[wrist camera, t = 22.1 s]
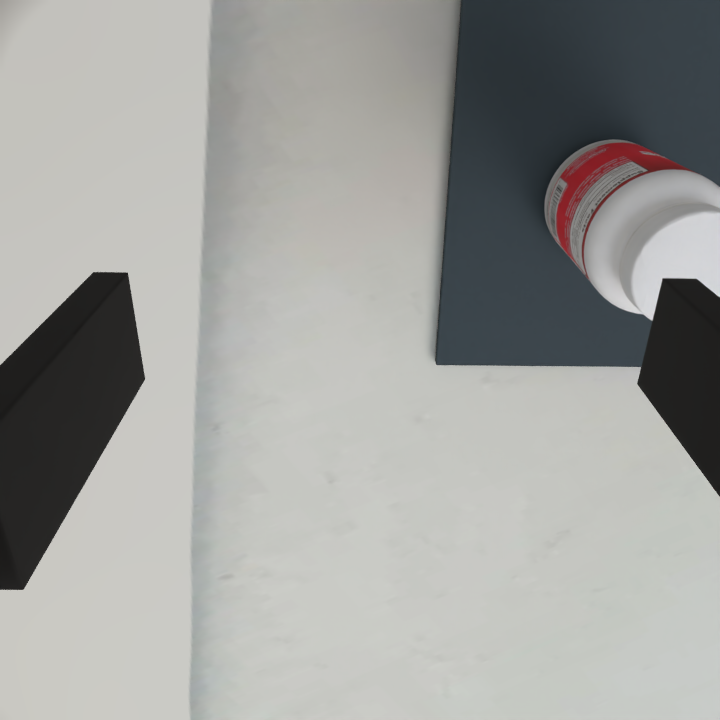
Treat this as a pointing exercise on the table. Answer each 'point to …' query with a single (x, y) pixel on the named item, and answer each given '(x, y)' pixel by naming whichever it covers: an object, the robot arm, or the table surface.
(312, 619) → the table surface
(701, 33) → the mat
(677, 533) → the table surface
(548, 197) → the pill bottle
